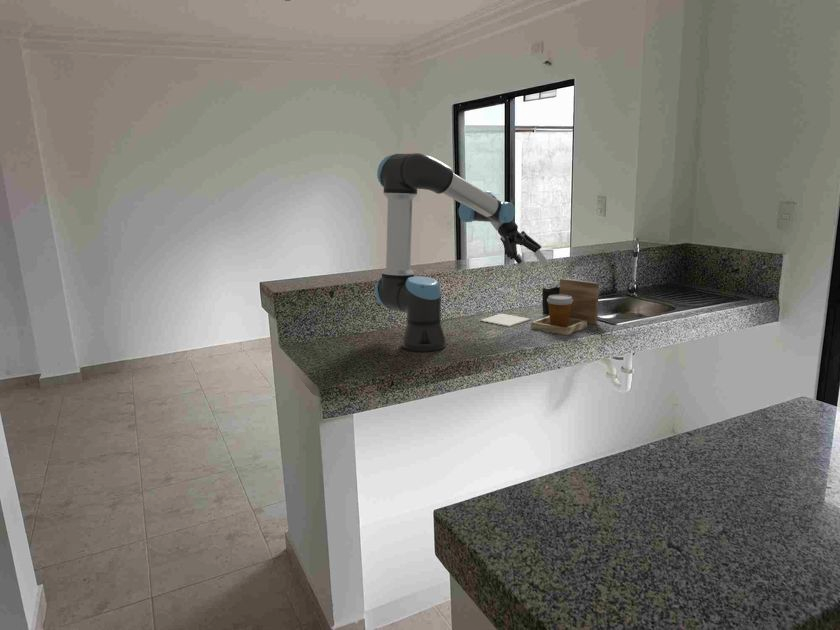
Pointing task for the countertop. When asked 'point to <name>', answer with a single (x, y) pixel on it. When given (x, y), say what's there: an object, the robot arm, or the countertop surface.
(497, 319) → the mat
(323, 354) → the countertop surface
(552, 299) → the disposable coffee cup
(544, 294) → the pen holder
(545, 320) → the brown wooden l-shaped tray
